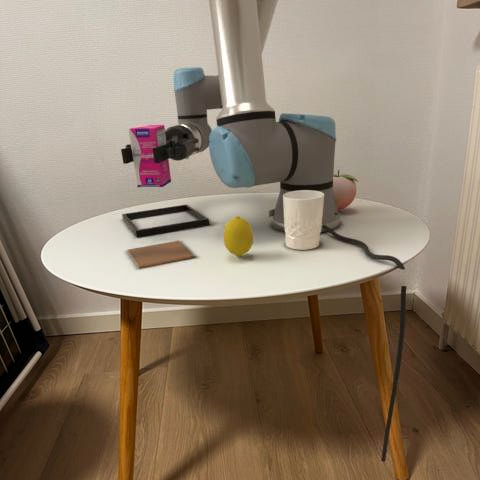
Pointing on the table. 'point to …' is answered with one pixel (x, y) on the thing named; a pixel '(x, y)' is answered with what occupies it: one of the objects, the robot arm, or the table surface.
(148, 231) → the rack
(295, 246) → the white cup
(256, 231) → the table surface
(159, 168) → the supplement box
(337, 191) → the decorative fruit
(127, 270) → the table surface
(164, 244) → the mat
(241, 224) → the lemon
